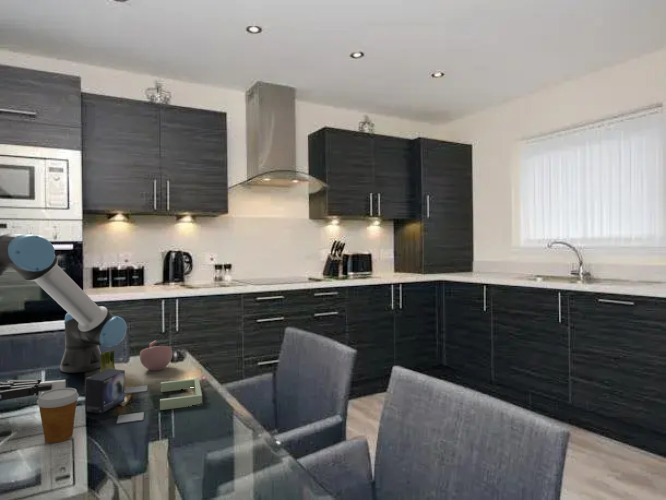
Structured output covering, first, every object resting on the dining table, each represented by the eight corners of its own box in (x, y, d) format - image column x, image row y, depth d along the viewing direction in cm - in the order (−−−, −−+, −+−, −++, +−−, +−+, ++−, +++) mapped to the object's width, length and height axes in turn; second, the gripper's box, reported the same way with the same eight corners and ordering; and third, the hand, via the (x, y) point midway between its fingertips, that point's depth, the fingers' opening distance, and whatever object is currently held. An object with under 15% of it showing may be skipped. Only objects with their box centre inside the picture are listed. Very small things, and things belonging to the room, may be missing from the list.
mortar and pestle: (169, 363, 183) (168, 336, 183) (175, 371, 173) (175, 342, 173) (137, 368, 177) (137, 339, 176) (142, 376, 167) (142, 346, 166)
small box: (103, 414, 133) (102, 380, 132) (84, 412, 134) (83, 378, 133) (126, 401, 143) (125, 369, 142) (108, 399, 144) (108, 367, 144)
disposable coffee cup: (87, 432, 120) (87, 389, 120) (55, 449, 111) (54, 402, 111) (61, 427, 123) (61, 385, 123) (28, 442, 114) (27, 397, 114)
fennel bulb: (113, 380, 162) (113, 348, 161) (118, 384, 158) (118, 351, 158) (96, 384, 158) (96, 351, 157) (101, 388, 154) (100, 354, 154)
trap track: (125, 388, 154) (125, 380, 154) (197, 380, 162) (197, 372, 162) (116, 424, 126) (116, 413, 126) (203, 412, 134) (203, 402, 134)
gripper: (-21, 398, 132) (69, 389, 140) (-40, 415, 120) (60, 404, 128) (-21, 373, 132) (69, 366, 140) (-41, 388, 119) (60, 379, 128)
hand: (64, 384), depth 134 cm, fingers closed
